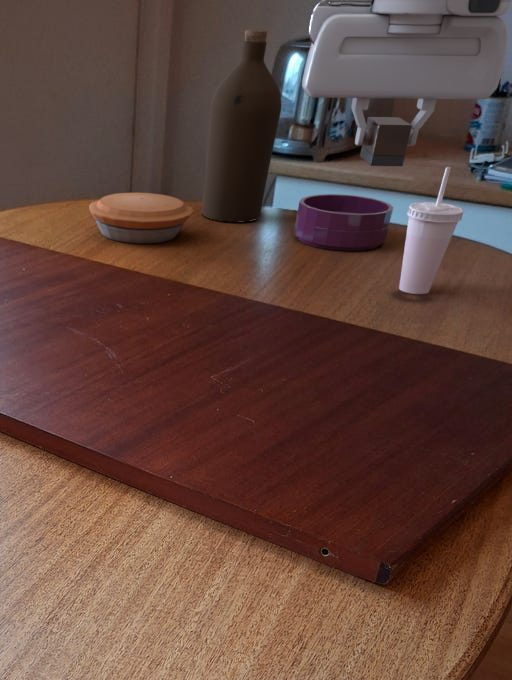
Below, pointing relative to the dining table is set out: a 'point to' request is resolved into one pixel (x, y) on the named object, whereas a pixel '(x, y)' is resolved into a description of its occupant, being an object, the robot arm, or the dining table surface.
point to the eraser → (387, 141)
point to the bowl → (342, 222)
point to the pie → (140, 217)
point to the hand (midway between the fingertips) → (384, 145)
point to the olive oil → (241, 136)
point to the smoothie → (427, 241)
